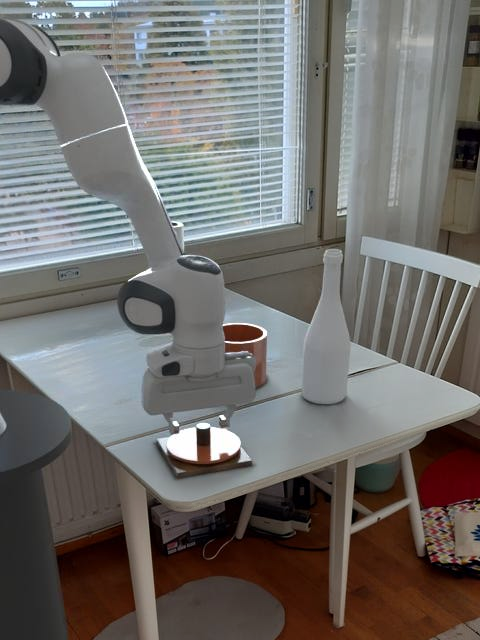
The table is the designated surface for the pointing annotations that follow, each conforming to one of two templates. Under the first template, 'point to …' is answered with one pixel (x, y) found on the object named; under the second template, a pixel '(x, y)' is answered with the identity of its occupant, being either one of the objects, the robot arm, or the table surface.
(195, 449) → the canister lid
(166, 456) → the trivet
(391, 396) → the table surface
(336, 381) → the wine bottle
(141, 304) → the robot arm
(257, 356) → the canister
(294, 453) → the table surface
